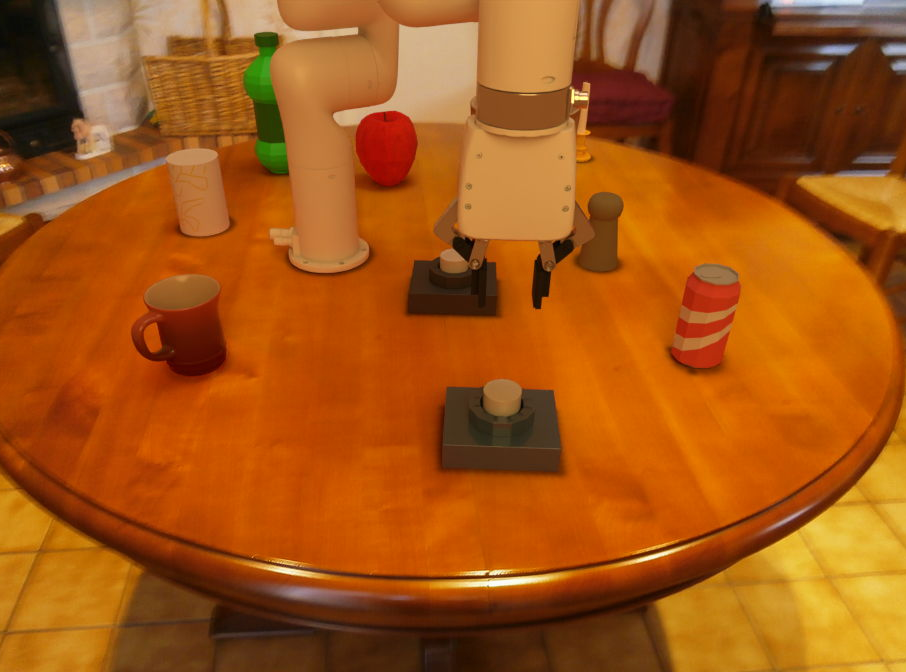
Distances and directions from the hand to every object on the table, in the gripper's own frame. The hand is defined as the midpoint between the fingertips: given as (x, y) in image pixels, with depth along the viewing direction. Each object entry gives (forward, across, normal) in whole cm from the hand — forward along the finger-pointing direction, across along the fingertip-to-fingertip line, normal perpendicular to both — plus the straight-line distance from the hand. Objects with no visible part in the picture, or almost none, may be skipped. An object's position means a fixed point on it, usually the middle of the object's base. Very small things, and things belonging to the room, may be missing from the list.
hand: (508, 299), depth 70 cm
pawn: (+18, -16, -43) cm, 49 cm away
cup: (+18, +49, -53) cm, 74 cm away
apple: (+18, +20, -75) cm, 80 cm away
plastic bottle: (+18, +42, -81) cm, 93 cm away
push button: (+13, +6, -31) cm, 34 cm away
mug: (+18, +38, -11) cm, 43 cm away
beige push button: (+13, 0, 0) cm, 13 cm away
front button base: (+17, 0, 0) cm, 17 cm away
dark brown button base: (+17, +6, -31) cm, 36 cm away
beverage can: (+18, -25, -17) cm, 35 cm away
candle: (+18, -18, -91) cm, 94 cm away
